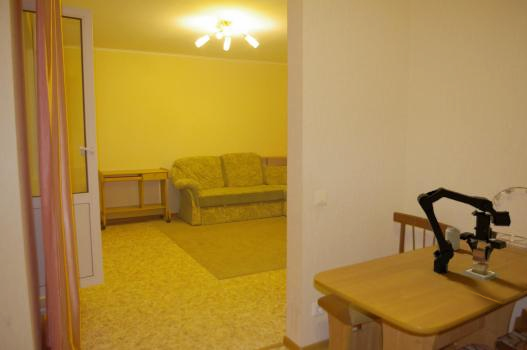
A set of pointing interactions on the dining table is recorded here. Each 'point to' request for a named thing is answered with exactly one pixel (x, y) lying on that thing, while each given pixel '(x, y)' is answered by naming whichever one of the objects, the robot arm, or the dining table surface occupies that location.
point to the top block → (479, 255)
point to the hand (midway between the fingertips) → (481, 258)
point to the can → (453, 237)
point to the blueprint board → (484, 278)
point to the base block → (480, 268)
